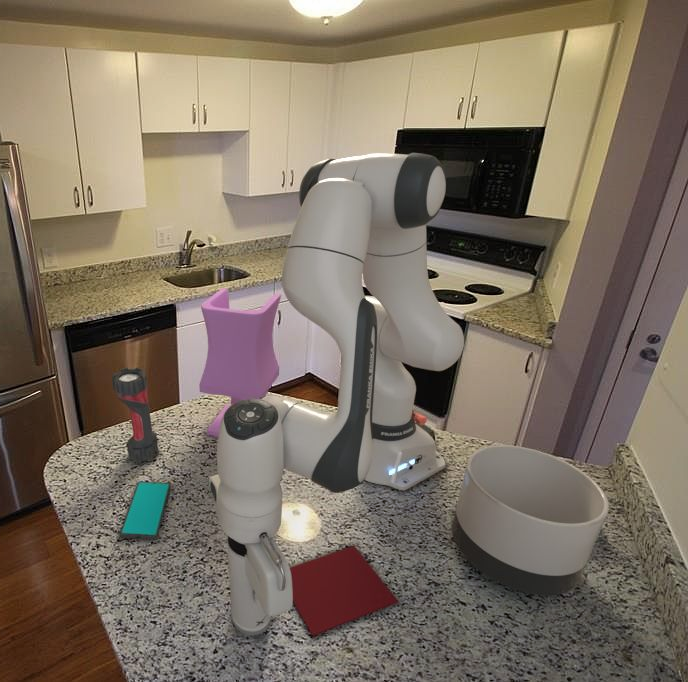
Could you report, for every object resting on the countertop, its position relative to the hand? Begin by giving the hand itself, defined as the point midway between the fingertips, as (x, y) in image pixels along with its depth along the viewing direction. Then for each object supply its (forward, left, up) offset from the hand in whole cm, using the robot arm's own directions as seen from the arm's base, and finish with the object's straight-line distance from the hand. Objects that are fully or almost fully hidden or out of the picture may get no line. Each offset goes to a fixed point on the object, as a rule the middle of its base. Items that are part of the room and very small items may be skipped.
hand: (249, 579), depth 71 cm
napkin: (-16, 0, -9) cm, 18 cm away
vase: (-20, -50, -9) cm, 55 cm away
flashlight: (+8, -47, -9) cm, 48 cm away
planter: (-48, +6, -9) cm, 49 cm away
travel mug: (0, 0, -9) cm, 9 cm away
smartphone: (+10, -29, -9) cm, 32 cm away
